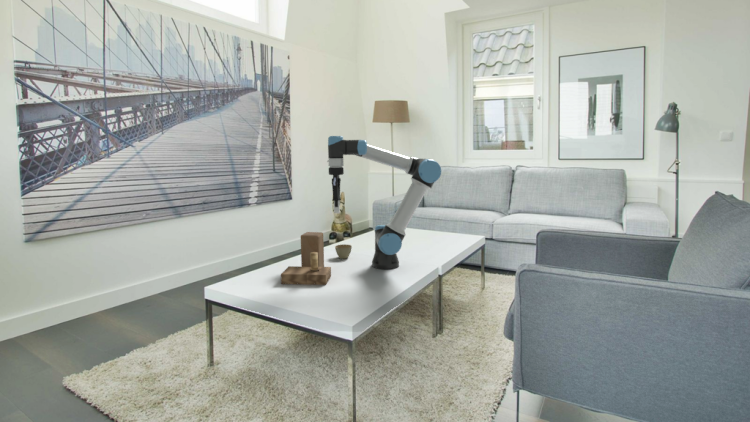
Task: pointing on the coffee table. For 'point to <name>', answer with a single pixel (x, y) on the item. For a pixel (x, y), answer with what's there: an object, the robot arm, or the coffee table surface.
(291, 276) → the board
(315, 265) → the peg
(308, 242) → the block
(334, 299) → the coffee table surface
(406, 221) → the robot arm
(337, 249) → the flower pot
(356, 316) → the coffee table surface
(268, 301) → the coffee table surface
